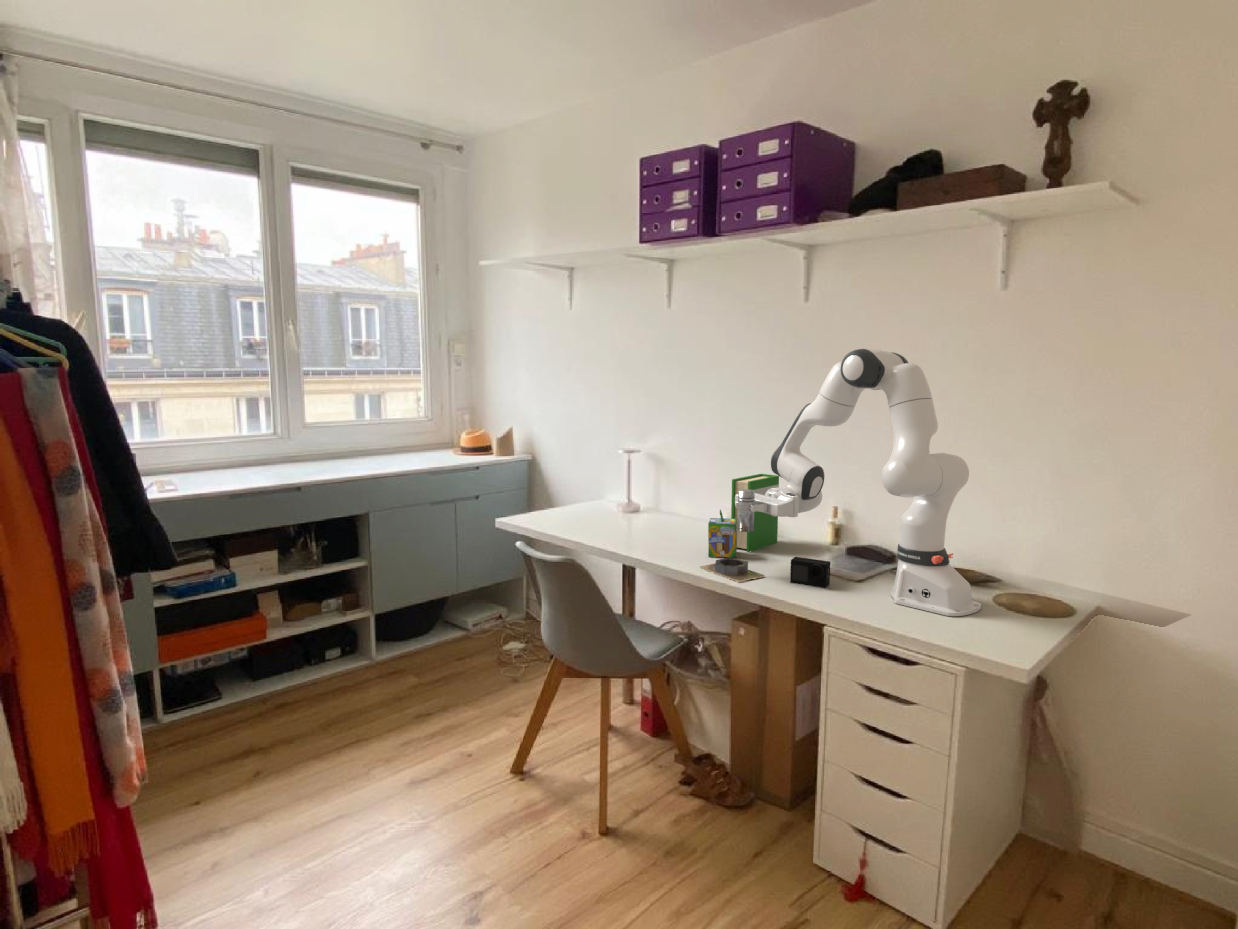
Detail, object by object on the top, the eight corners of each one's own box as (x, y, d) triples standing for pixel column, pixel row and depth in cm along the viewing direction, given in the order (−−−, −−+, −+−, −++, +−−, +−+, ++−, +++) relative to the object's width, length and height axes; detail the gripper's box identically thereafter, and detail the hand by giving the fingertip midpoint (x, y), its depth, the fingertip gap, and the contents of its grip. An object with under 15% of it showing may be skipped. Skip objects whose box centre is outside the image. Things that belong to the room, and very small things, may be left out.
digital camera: (788, 584, 211) (788, 560, 210) (794, 579, 215) (795, 556, 214) (824, 589, 205) (825, 565, 205) (829, 584, 210) (830, 561, 209)
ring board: (764, 577, 217) (764, 567, 217) (739, 582, 212) (739, 572, 212) (724, 563, 232) (724, 554, 232) (699, 568, 227) (699, 558, 226)
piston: (757, 530, 220) (758, 491, 218) (744, 532, 217) (745, 492, 215) (746, 527, 224) (747, 488, 222) (733, 529, 221) (734, 490, 219)
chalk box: (735, 558, 238) (736, 514, 236) (707, 557, 240) (708, 513, 238) (737, 551, 247) (738, 508, 245) (709, 550, 249) (710, 507, 247)
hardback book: (748, 552, 246) (750, 481, 243) (730, 548, 251) (731, 479, 248) (777, 543, 259) (779, 475, 256) (759, 539, 264) (760, 473, 261)
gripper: (754, 486, 234) (721, 491, 227) (802, 497, 217) (767, 502, 210) (754, 506, 235) (720, 511, 228) (801, 517, 218) (767, 523, 211)
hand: (743, 506), depth 219 cm, fingers closed on piston, 5 cm apart
